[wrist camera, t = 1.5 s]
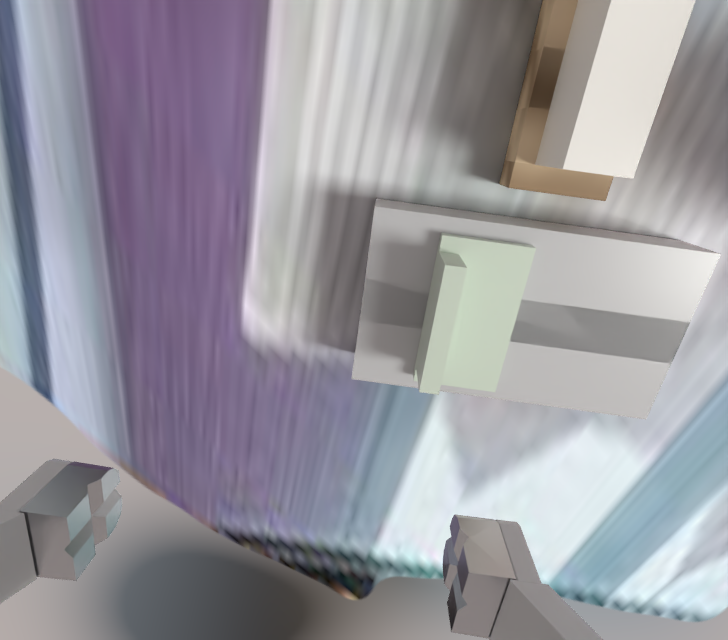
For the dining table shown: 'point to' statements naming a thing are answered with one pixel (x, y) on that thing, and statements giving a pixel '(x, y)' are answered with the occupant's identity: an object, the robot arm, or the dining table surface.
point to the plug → (611, 84)
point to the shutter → (470, 312)
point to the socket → (540, 307)
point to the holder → (545, 114)
